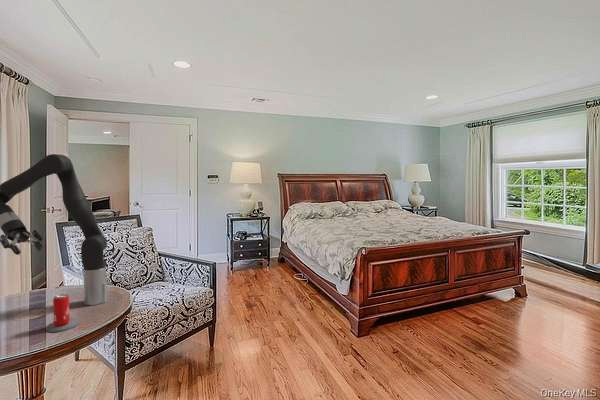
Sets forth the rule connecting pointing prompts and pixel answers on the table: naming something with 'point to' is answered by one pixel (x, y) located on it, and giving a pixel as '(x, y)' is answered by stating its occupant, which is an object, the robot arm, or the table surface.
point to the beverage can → (61, 310)
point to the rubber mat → (70, 325)
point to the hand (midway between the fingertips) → (30, 251)
